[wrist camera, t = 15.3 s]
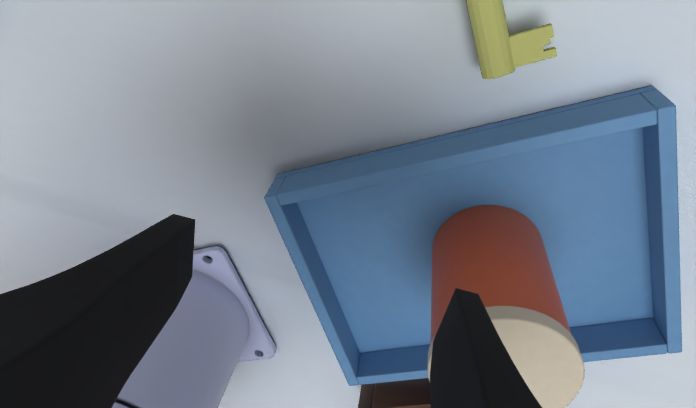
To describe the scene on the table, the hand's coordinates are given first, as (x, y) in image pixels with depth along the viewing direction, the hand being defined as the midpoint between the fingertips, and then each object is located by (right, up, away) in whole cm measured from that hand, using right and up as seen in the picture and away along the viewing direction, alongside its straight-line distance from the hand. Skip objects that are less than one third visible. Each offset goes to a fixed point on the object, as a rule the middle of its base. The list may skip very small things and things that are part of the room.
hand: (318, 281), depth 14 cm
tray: (+7, 0, +11) cm, 13 cm away
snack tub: (+7, 0, +10) cm, 13 cm away
